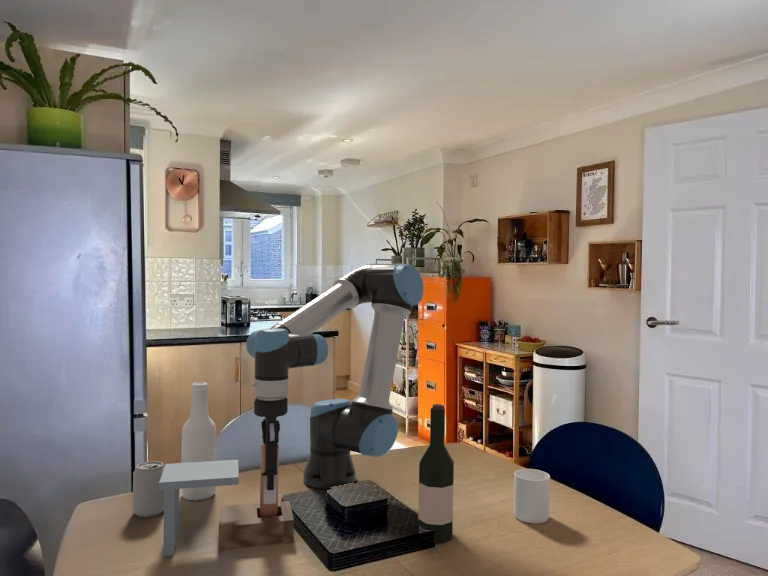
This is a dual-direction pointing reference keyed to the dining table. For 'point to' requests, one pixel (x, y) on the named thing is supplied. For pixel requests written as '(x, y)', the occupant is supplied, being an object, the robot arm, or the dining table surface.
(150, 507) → the can
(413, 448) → the dining table surface
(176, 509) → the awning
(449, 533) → the wine bottle
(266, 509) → the peg
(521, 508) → the mug
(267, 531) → the socket
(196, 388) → the alcohol
